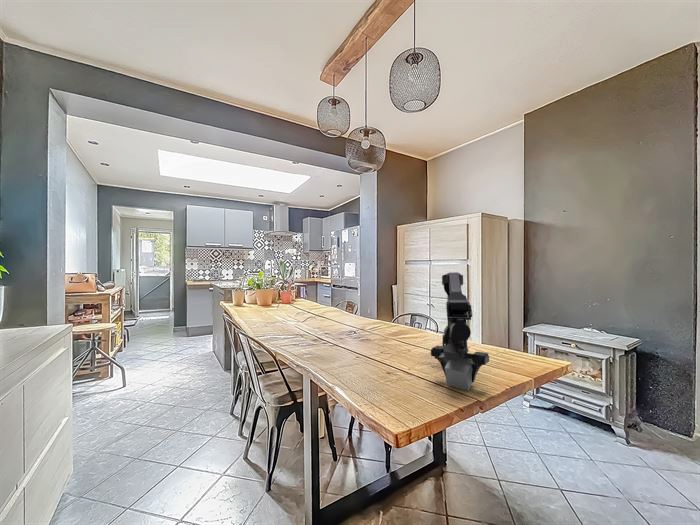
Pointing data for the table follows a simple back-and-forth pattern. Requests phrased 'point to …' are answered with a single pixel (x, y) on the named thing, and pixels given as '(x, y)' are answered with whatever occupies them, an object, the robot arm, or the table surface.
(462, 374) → the concrete-looking gray cube
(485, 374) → the table surface
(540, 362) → the table surface
